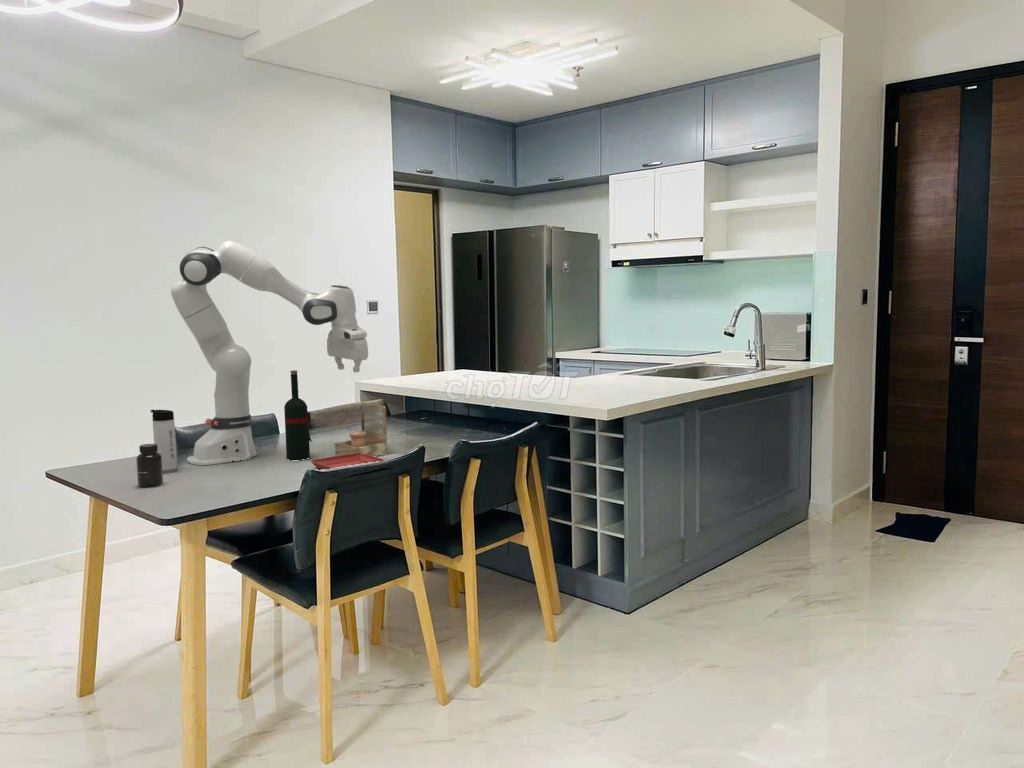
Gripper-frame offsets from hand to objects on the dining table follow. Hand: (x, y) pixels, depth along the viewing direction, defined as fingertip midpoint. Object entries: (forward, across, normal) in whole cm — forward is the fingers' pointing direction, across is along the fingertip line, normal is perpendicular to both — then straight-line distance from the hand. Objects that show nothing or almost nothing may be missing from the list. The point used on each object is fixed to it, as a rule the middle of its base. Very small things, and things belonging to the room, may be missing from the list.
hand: (348, 370), depth 270 cm
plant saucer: (+26, +26, -21) cm, 42 cm away
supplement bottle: (+22, -3, -70) cm, 74 cm away
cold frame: (+28, +11, -5) cm, 30 cm away
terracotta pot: (+27, +11, -6) cm, 30 cm away
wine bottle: (+27, -1, -22) cm, 35 cm away
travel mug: (+24, -17, -60) cm, 67 cm away
